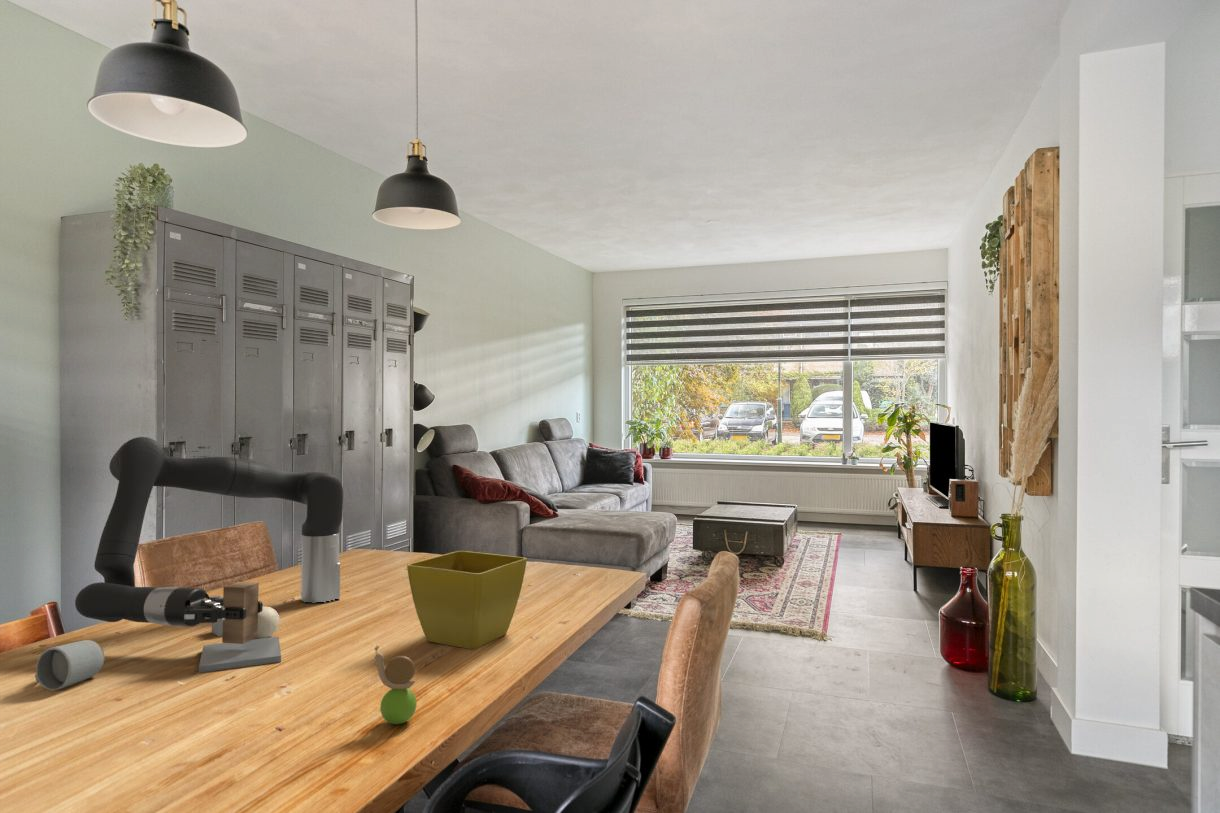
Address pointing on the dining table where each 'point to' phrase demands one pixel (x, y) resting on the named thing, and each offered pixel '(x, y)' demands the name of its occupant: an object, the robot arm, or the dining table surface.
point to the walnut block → (246, 598)
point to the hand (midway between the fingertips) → (253, 610)
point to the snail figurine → (397, 688)
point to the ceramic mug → (69, 664)
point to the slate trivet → (240, 654)
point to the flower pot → (466, 596)
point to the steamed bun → (267, 622)
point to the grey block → (217, 627)
